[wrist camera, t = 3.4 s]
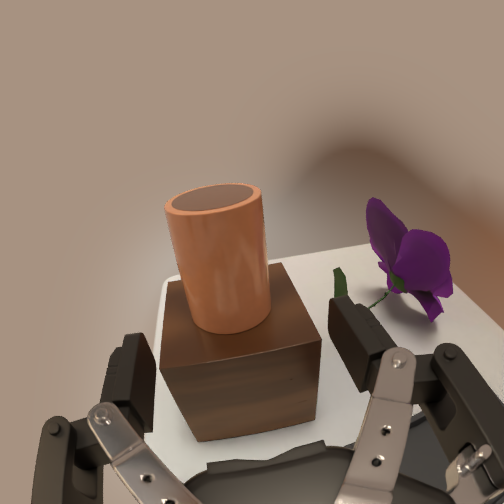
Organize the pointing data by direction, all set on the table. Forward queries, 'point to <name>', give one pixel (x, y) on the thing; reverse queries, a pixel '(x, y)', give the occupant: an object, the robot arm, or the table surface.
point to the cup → (222, 255)
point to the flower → (406, 260)
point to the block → (242, 366)
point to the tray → (427, 456)
